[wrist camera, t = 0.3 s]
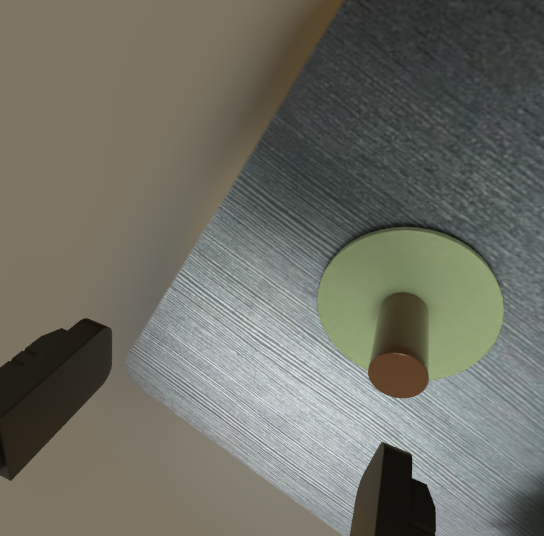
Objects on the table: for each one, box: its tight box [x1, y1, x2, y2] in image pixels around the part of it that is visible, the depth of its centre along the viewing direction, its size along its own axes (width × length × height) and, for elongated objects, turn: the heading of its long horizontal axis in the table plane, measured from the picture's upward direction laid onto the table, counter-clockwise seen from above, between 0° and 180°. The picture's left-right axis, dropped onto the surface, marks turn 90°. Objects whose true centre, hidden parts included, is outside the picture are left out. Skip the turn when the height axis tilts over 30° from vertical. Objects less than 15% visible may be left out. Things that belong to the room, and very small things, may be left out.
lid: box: [317, 227, 504, 398], centre depth 24 cm, size 11×11×7 cm
